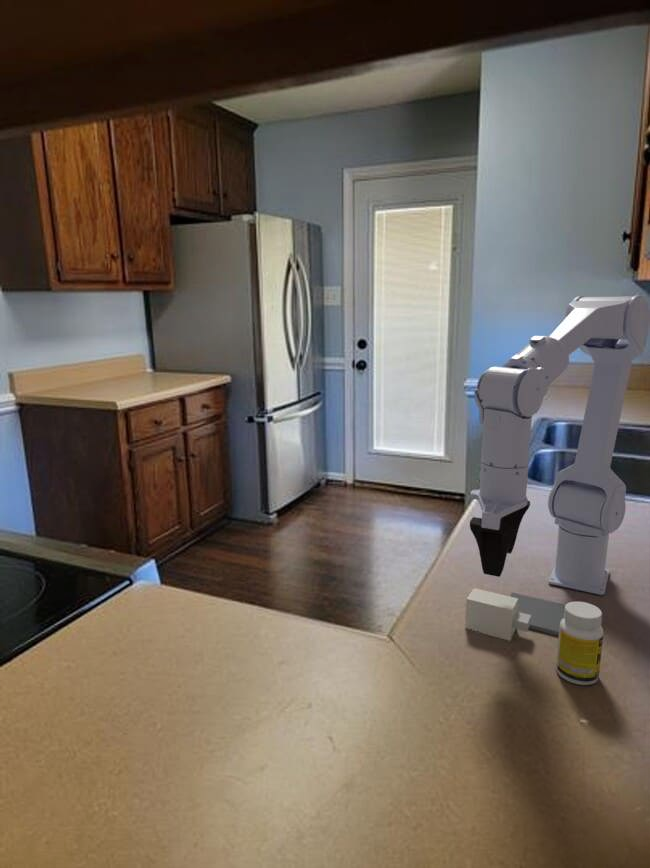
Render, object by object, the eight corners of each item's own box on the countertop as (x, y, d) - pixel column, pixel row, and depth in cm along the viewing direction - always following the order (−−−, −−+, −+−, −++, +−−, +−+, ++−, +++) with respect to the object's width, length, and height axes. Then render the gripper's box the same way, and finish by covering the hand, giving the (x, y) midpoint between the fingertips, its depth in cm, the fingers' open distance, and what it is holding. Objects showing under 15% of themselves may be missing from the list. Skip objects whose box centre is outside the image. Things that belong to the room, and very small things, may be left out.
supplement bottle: (603, 689, 67) (610, 622, 65) (559, 684, 68) (565, 618, 66) (593, 664, 71) (599, 601, 69) (552, 659, 72) (557, 597, 70)
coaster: (512, 596, 88) (512, 592, 88) (568, 609, 84) (569, 605, 84) (498, 620, 81) (499, 616, 81) (560, 636, 77) (560, 632, 77)
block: (472, 617, 82) (474, 588, 81) (530, 632, 78) (533, 601, 77) (465, 629, 79) (466, 598, 78) (525, 645, 75) (527, 613, 74)
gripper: (484, 446, 82) (479, 537, 85) (458, 473, 69) (453, 578, 72) (537, 452, 78) (530, 546, 81) (520, 480, 66) (512, 591, 69)
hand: (498, 562), depth 76 cm, fingers open, 7 cm apart
